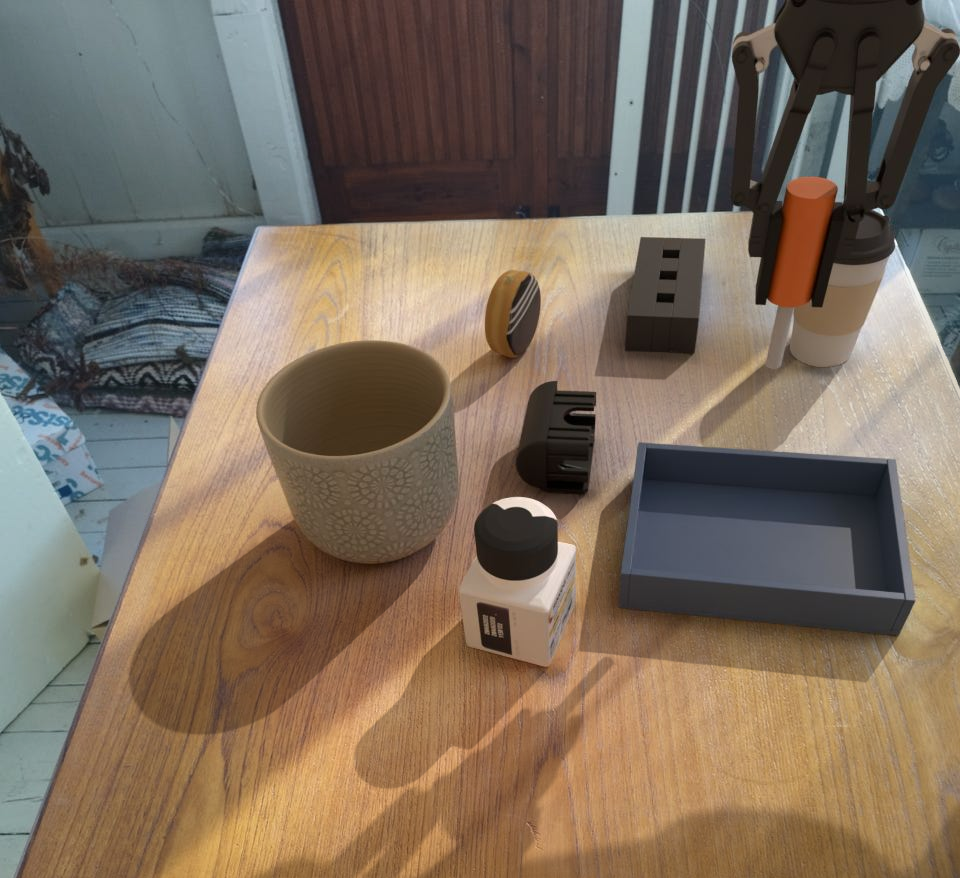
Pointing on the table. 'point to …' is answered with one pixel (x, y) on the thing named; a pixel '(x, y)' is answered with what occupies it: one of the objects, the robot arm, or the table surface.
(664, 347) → the holder
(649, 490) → the bin
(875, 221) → the coffee cup
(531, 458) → the end cap
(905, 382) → the table surface
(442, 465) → the planter
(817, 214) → the screwdriver
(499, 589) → the container
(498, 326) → the doughnut
